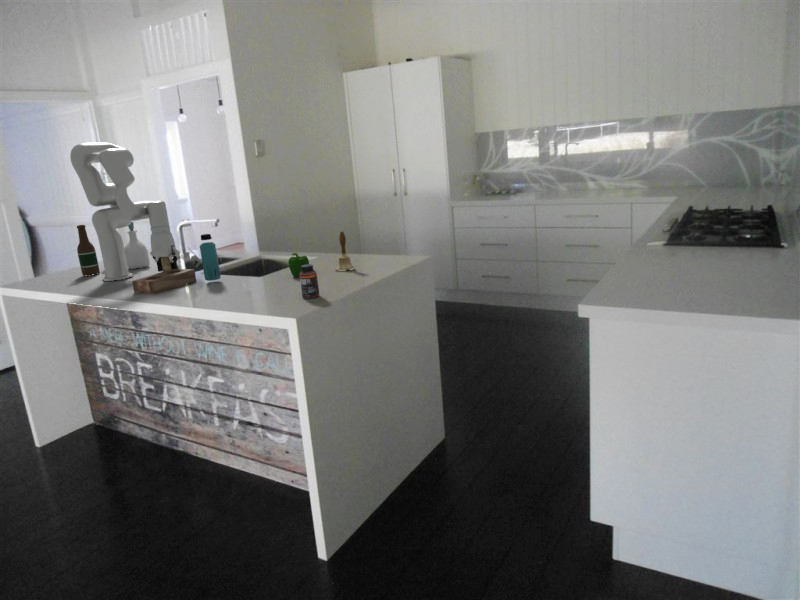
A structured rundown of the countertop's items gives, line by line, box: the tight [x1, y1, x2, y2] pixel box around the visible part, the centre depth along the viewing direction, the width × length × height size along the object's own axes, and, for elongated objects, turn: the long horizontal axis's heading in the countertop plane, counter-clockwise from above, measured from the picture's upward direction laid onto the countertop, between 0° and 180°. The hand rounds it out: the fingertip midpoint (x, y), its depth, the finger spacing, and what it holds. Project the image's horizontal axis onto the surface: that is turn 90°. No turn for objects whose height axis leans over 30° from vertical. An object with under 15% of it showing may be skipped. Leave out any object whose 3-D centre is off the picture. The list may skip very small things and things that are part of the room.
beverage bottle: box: [199, 233, 221, 282], centre depth 246 cm, size 6×7×20 cm
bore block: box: [131, 268, 197, 295], centre depth 247 cm, size 12×22×5 cm, turn 156°
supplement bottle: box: [299, 263, 320, 300], centre depth 208 cm, size 6×6×11 cm
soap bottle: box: [124, 221, 150, 270], centre depth 297 cm, size 10×10×23 cm
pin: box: [161, 257, 171, 272], centre depth 262 cm, size 4×4×12 cm
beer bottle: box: [76, 224, 101, 276], centre depth 288 cm, size 8×8×24 cm
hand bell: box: [335, 231, 355, 271], centre depth 250 cm, size 8×8×16 cm
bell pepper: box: [288, 252, 310, 278], centre depth 246 cm, size 8×8×10 cm
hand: (168, 270), depth 262 cm, fingers open, 7 cm apart
